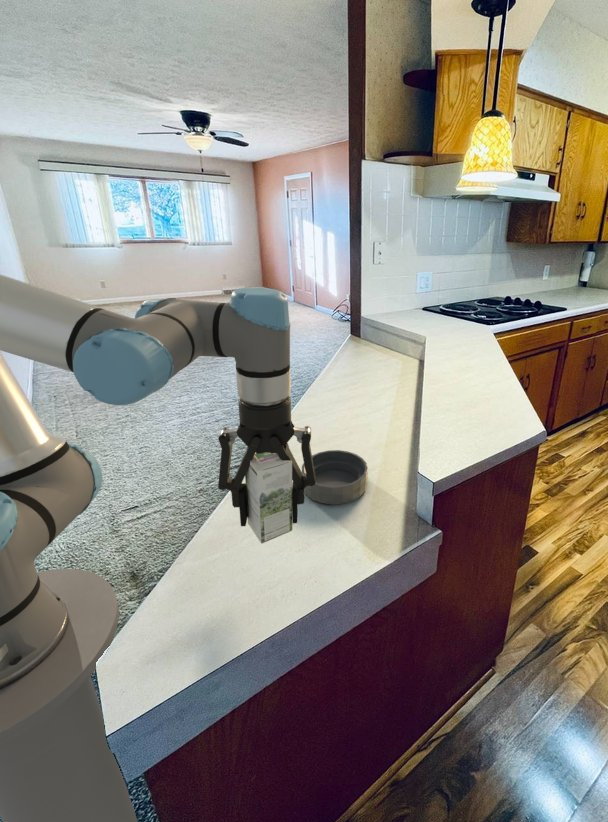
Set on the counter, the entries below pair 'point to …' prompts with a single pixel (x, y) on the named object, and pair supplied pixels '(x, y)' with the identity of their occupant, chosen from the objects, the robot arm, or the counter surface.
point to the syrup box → (269, 496)
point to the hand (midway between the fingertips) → (270, 519)
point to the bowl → (337, 477)
